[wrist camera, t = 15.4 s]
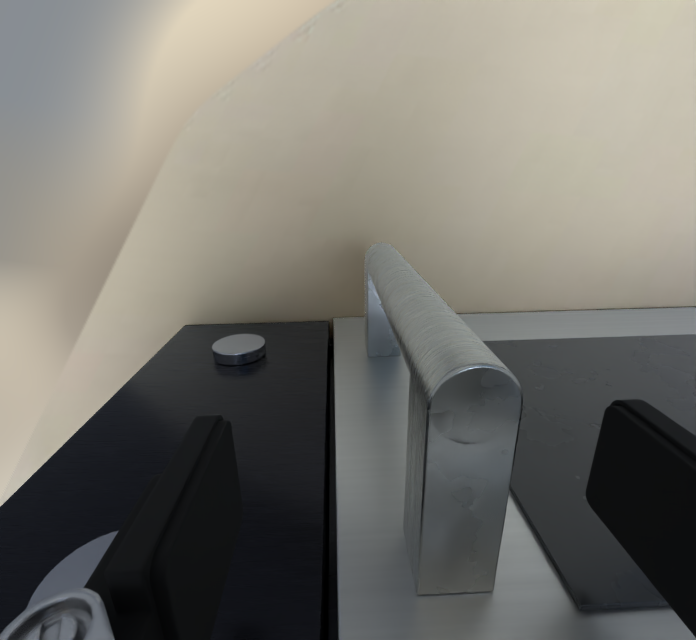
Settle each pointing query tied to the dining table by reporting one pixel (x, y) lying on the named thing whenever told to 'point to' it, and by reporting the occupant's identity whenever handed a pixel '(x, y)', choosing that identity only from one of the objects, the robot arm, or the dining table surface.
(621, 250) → the dining table surface
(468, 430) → the microwave door
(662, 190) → the dining table surface
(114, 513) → the microwave
